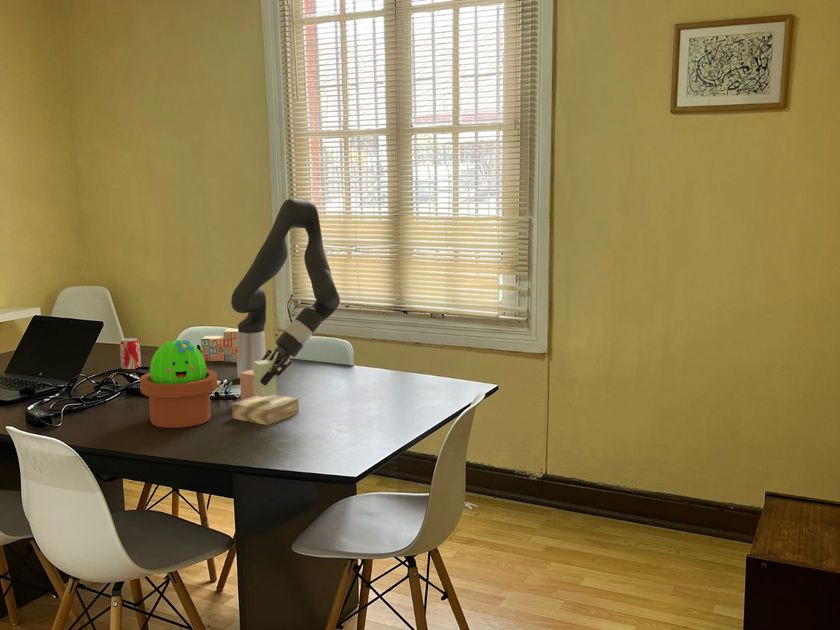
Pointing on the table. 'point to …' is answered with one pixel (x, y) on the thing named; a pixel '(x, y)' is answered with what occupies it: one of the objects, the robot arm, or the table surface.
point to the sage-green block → (259, 373)
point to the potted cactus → (178, 386)
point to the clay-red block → (247, 384)
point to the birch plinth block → (265, 409)
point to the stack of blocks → (221, 346)
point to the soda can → (130, 353)
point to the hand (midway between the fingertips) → (259, 381)
